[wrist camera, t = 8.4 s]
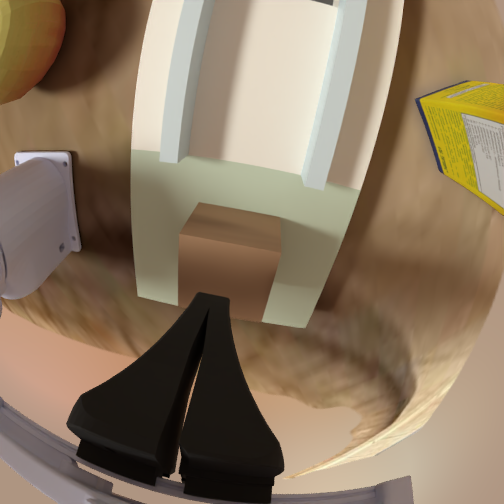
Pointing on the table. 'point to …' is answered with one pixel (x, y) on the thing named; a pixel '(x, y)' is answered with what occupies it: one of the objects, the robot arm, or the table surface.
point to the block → (229, 258)
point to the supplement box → (469, 136)
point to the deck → (258, 129)
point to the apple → (28, 43)
